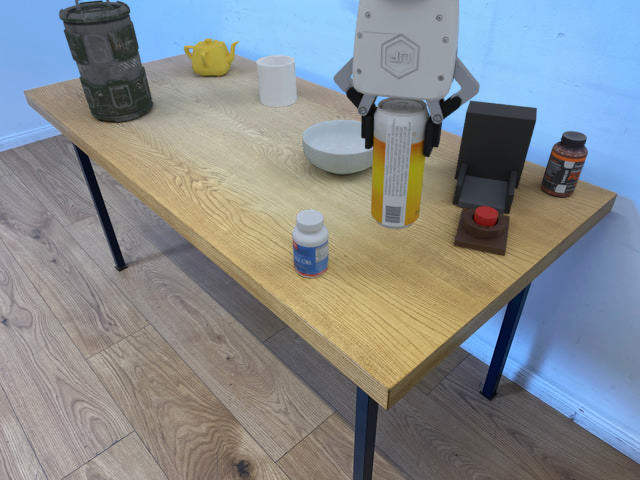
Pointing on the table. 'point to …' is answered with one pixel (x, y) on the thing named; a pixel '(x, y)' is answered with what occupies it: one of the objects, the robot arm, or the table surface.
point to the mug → (277, 80)
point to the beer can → (398, 161)
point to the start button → (485, 216)
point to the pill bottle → (310, 244)
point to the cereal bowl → (337, 146)
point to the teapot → (211, 57)
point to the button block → (482, 233)
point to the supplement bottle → (565, 164)
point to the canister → (107, 59)
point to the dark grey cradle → (492, 154)
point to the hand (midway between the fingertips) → (399, 146)
